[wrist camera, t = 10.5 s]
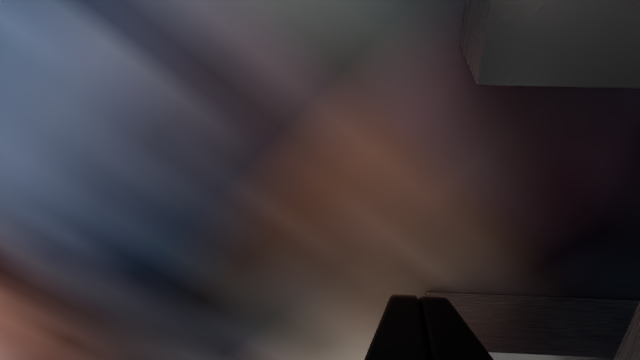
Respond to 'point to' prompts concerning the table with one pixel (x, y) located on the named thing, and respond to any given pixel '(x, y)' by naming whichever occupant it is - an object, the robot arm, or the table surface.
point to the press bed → (556, 71)
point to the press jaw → (631, 340)
